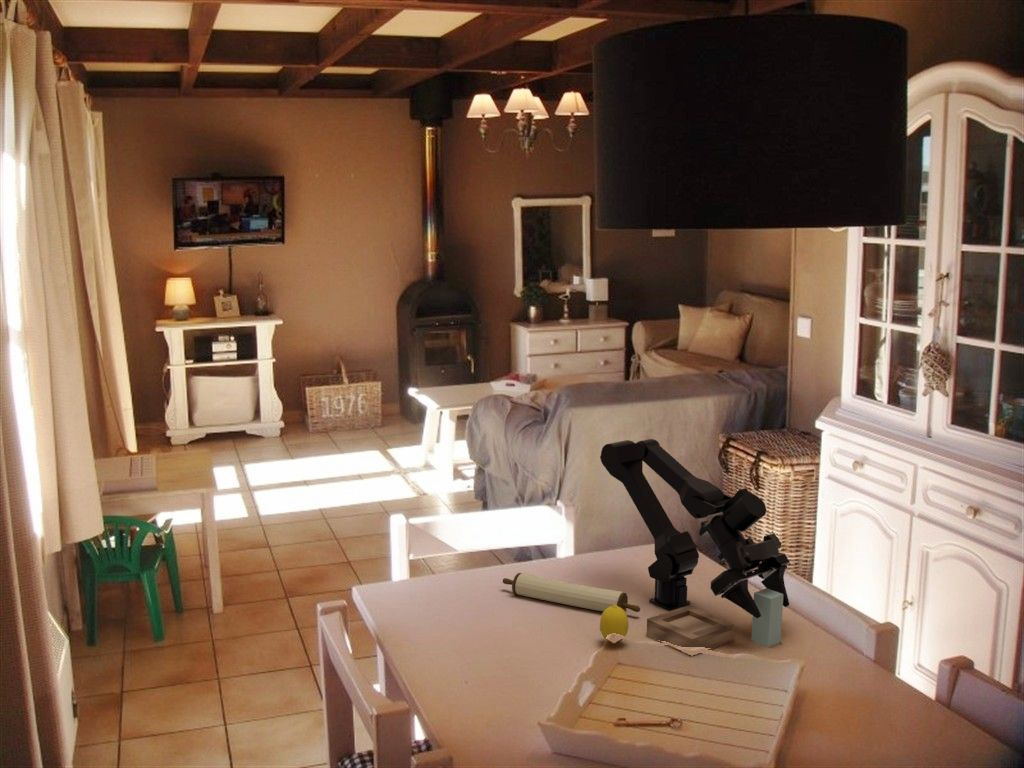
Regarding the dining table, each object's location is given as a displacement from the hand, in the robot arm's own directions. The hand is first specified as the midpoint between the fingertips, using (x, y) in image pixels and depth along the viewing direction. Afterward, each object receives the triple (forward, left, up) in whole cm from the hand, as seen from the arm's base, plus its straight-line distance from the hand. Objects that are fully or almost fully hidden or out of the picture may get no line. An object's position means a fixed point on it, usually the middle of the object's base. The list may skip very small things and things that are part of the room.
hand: (773, 611), depth 202 cm
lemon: (-18, -25, -7) cm, 32 cm away
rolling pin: (-39, -19, -7) cm, 44 cm away
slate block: (-1, 0, -7) cm, 7 cm away
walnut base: (-11, -11, -7) cm, 17 cm away
